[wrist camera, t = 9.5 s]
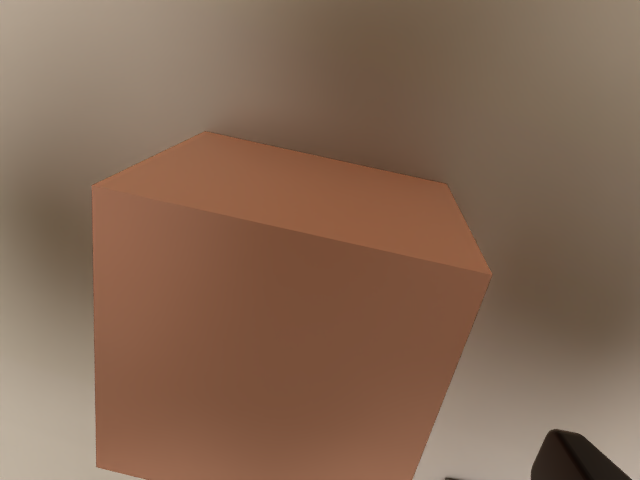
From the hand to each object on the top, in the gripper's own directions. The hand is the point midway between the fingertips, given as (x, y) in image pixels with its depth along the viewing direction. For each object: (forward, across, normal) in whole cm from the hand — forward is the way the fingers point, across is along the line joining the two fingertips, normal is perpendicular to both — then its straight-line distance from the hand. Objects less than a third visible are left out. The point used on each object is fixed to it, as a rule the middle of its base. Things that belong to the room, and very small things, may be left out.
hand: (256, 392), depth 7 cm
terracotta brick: (+5, 0, 0) cm, 5 cm away
